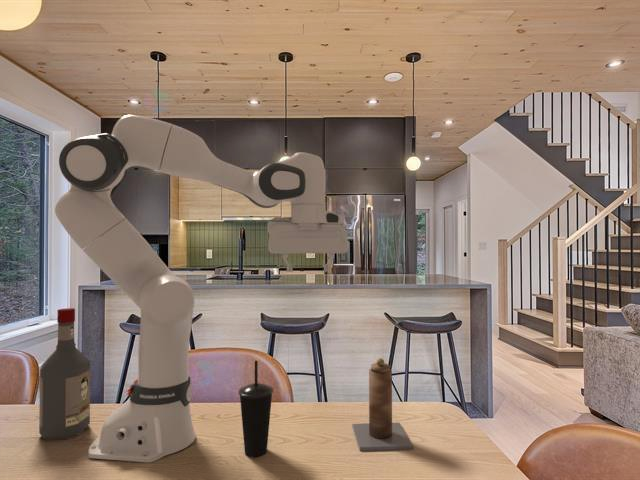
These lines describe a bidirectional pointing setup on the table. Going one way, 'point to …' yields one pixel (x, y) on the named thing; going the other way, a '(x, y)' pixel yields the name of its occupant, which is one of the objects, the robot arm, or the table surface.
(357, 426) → the trivet
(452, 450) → the table surface
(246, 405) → the drinking cup
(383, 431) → the pepper mill
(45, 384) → the liquor
